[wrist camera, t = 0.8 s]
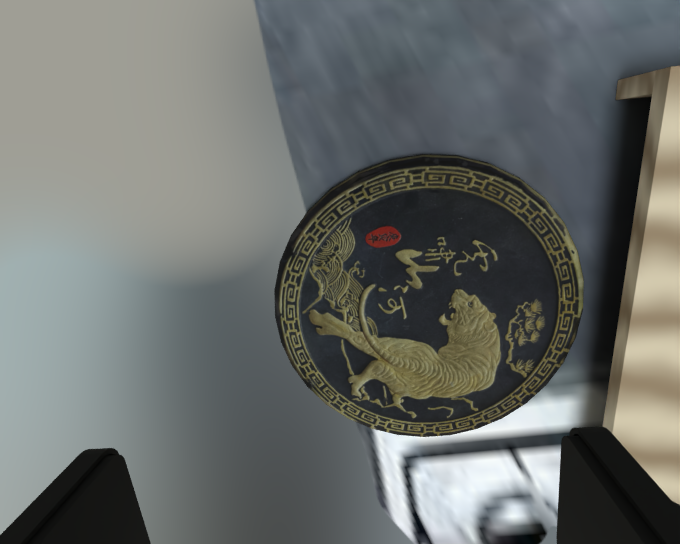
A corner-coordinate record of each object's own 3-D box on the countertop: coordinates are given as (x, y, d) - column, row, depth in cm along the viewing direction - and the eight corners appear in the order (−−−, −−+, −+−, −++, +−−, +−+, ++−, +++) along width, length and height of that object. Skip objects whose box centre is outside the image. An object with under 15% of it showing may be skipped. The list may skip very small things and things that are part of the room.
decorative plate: (253, 165, 35) (611, 142, 32) (259, 164, 37) (598, 142, 34) (289, 438, 44) (568, 440, 41) (292, 427, 46) (560, 427, 43)
